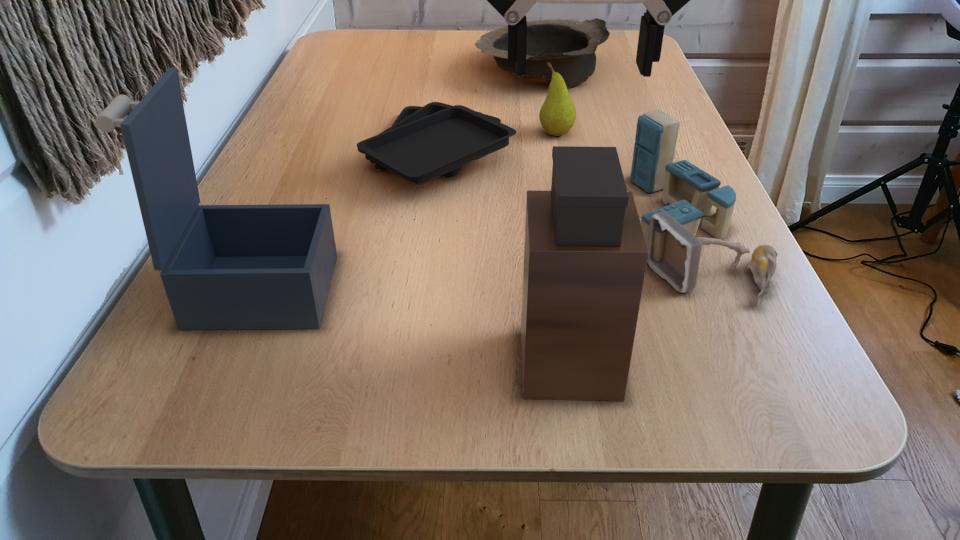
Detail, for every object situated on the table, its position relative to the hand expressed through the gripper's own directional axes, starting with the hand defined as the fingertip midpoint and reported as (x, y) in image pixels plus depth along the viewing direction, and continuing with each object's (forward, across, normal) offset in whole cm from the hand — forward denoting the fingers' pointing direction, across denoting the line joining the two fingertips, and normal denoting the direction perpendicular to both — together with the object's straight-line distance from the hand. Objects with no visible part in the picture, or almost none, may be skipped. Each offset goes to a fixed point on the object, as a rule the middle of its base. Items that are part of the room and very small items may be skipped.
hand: (581, 70), depth 58 cm
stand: (+32, +1, -1) cm, 32 cm away
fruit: (+32, +3, +53) cm, 62 cm away
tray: (+32, -16, +44) cm, 57 cm away
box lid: (+15, -41, +11) cm, 45 cm away
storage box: (+32, -34, +11) cm, 48 cm away
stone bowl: (+32, +1, +78) cm, 85 cm away
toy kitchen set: (+32, +14, +28) cm, 45 cm away
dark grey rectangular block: (+14, +1, 0) cm, 14 cm away
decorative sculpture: (+32, +20, +14) cm, 40 cm away
